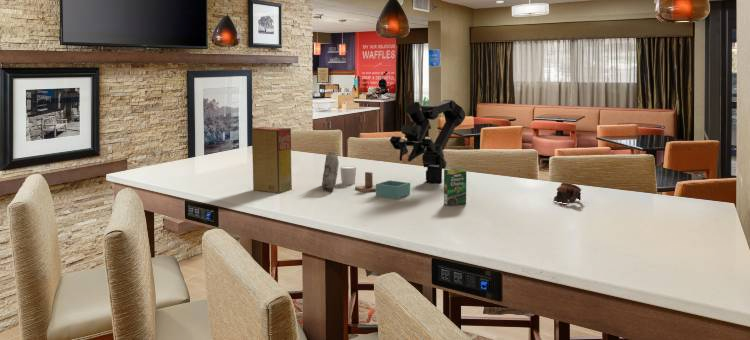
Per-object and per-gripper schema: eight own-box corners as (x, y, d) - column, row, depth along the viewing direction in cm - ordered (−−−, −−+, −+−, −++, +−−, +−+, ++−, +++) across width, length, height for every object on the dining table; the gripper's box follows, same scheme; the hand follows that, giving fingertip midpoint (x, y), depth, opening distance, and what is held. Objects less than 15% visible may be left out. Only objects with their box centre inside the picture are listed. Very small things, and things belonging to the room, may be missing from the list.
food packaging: (293, 189, 233) (291, 127, 228) (278, 193, 225) (277, 129, 220) (267, 186, 239) (265, 126, 235) (252, 190, 231) (249, 128, 227)
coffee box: (446, 206, 204) (447, 169, 202) (442, 204, 207) (443, 168, 205) (466, 204, 207) (467, 168, 205) (462, 202, 210) (463, 167, 208)
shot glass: (354, 185, 242) (354, 168, 241) (338, 184, 243) (338, 168, 242) (358, 182, 248) (357, 166, 247) (342, 181, 250) (342, 165, 249)
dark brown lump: (546, 202, 214) (554, 181, 215) (568, 212, 216) (575, 192, 217) (564, 200, 202) (572, 179, 204) (586, 211, 204) (594, 190, 205)
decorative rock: (323, 184, 243) (323, 149, 240) (339, 184, 243) (339, 149, 240) (320, 192, 227) (319, 154, 224) (336, 192, 227) (336, 155, 224)
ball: (409, 162, 231) (409, 153, 230) (411, 163, 227) (412, 154, 227) (400, 162, 230) (400, 153, 229) (403, 164, 227) (403, 154, 226)
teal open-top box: (389, 191, 229) (389, 180, 229) (410, 194, 224) (410, 182, 223) (375, 195, 222) (375, 184, 221) (396, 198, 216) (397, 186, 215)
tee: (372, 187, 238) (372, 170, 237) (382, 190, 231) (382, 173, 230) (355, 189, 234) (355, 172, 232) (365, 192, 227) (365, 175, 226)
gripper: (392, 116, 234) (376, 146, 227) (432, 118, 224) (417, 149, 217) (402, 133, 242) (387, 163, 235) (441, 136, 231) (427, 167, 224)
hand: (404, 160), depth 227 cm, fingers closed on ball, 4 cm apart
